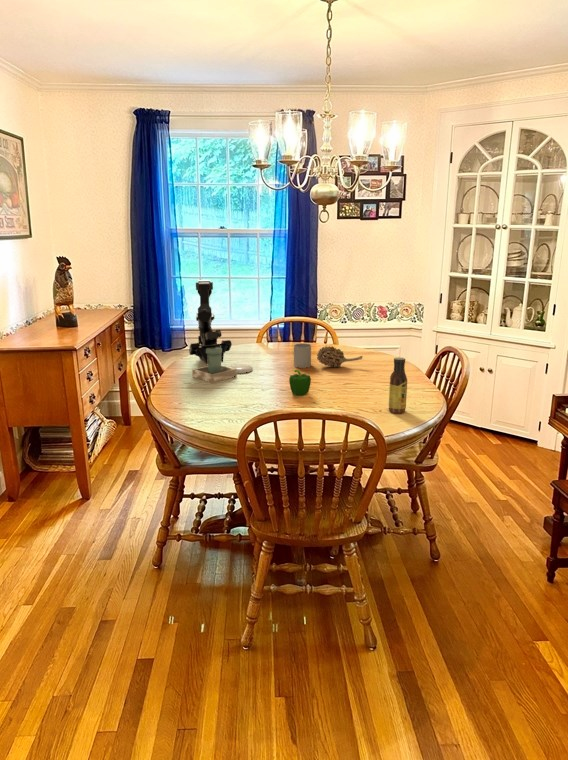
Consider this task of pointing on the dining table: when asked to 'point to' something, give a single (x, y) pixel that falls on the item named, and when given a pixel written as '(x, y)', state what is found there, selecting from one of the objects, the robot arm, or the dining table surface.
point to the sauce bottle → (398, 387)
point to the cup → (302, 355)
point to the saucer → (242, 368)
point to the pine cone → (333, 357)
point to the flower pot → (214, 359)
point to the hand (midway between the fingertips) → (214, 363)
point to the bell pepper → (299, 383)
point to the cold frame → (224, 374)
